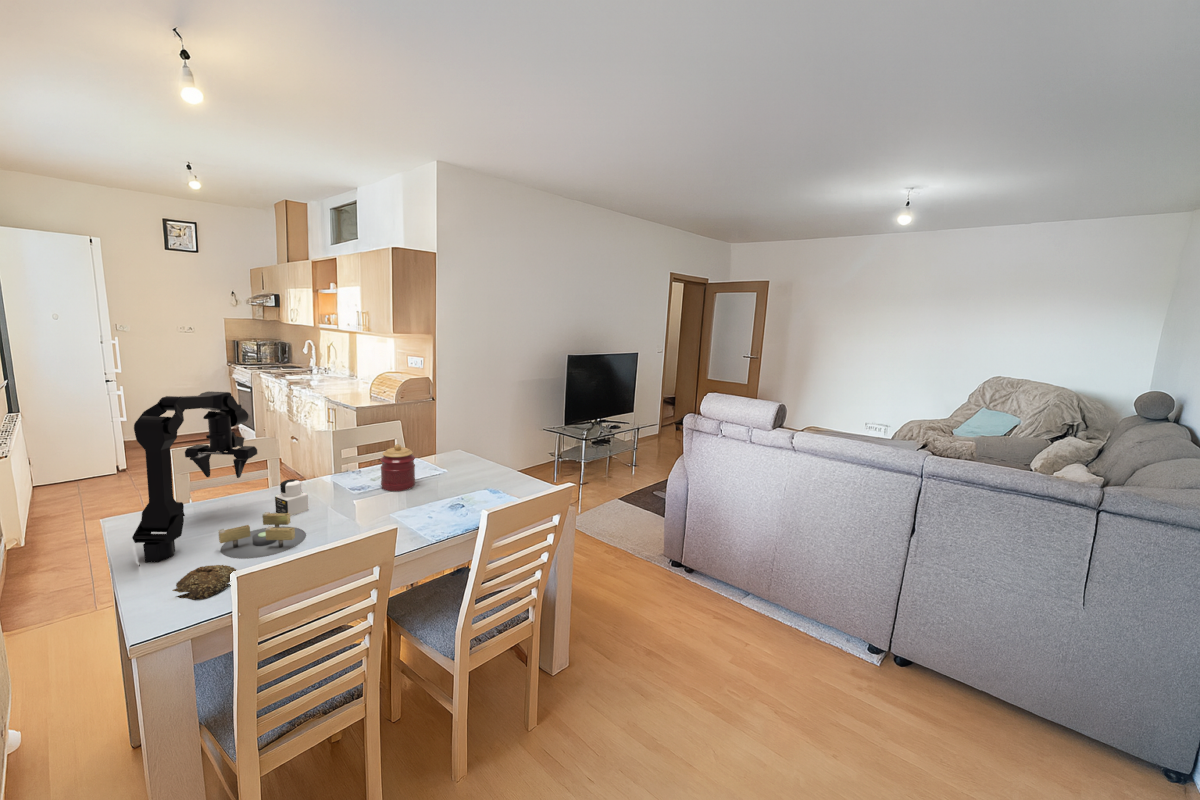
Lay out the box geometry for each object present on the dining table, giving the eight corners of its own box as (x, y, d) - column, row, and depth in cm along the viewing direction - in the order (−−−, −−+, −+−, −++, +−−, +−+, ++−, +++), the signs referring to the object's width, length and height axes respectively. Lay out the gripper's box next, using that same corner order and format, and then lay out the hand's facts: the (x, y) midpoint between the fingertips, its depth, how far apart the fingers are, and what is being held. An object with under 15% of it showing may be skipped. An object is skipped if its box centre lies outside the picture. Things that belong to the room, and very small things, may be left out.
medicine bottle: (275, 515, 166) (273, 481, 164) (296, 508, 172) (295, 476, 170) (288, 520, 163) (286, 486, 161) (309, 513, 169) (307, 480, 167)
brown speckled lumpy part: (248, 576, 129) (246, 558, 129) (208, 602, 117) (206, 583, 116) (202, 572, 130) (200, 554, 129) (157, 598, 118) (155, 579, 117)
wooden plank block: (288, 532, 152) (287, 514, 151) (263, 532, 151) (262, 514, 150) (290, 529, 154) (289, 512, 153) (266, 529, 153) (265, 512, 152)
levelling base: (285, 562, 137) (284, 550, 136) (203, 563, 134) (202, 550, 133) (318, 529, 157) (317, 519, 157) (247, 530, 154) (246, 519, 154)
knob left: (251, 544, 143) (249, 525, 142) (221, 551, 138) (219, 532, 137) (249, 542, 144) (248, 523, 143) (219, 549, 139) (218, 530, 138)
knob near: (292, 548, 142) (291, 528, 141) (266, 548, 141) (265, 529, 140) (295, 545, 144) (294, 526, 143) (269, 545, 143) (268, 526, 142)
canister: (383, 481, 204) (382, 440, 201) (416, 480, 208) (415, 439, 205) (379, 492, 191) (378, 449, 189) (414, 490, 195) (413, 448, 192)
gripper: (265, 426, 165) (268, 470, 168) (206, 424, 163) (210, 469, 166) (245, 433, 154) (248, 481, 157) (181, 431, 152) (185, 479, 155)
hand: (223, 477), depth 159 cm, fingers open, 9 cm apart
